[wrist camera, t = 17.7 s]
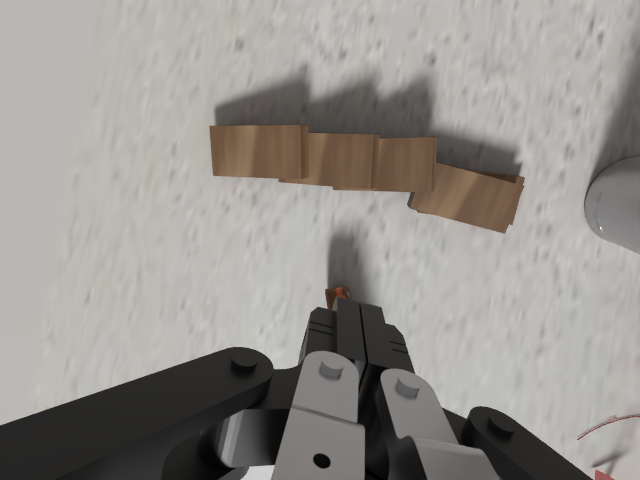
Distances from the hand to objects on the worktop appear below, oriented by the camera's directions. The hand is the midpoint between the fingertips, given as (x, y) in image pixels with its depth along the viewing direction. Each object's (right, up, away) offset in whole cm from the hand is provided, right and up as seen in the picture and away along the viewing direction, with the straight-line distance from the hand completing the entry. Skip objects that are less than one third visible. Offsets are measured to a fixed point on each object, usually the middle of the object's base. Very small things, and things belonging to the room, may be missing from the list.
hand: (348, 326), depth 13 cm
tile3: (+1, +11, +29) cm, 30 cm away
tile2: (+9, +9, +27) cm, 30 cm away
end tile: (-12, +12, +29) cm, 33 cm away
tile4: (-5, +11, +29) cm, 31 cm away
